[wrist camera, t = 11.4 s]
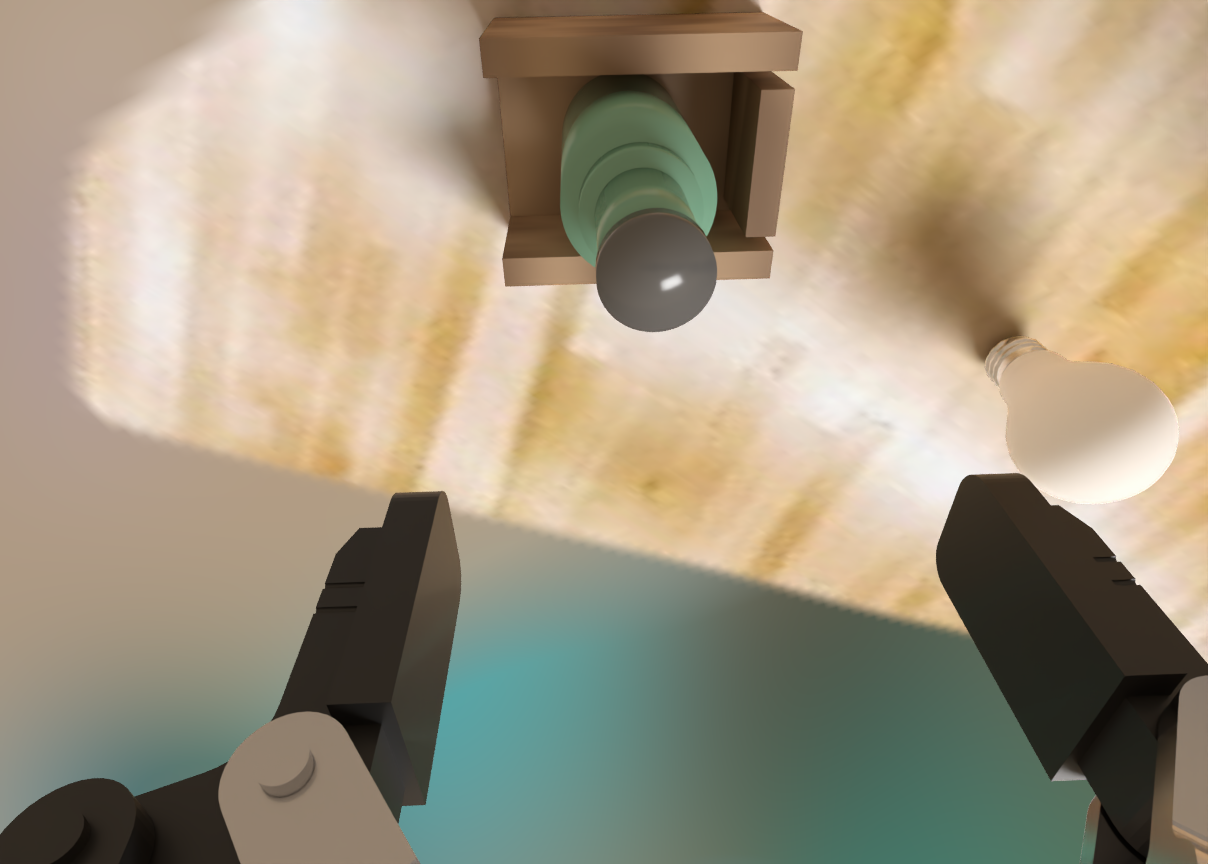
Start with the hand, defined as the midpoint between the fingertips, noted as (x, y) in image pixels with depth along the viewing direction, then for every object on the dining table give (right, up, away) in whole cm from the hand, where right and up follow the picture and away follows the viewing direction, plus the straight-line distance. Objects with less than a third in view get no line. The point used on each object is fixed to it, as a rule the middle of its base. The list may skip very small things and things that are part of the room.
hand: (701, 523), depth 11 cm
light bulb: (+21, +6, +28) cm, 35 cm away
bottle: (-1, +14, +19) cm, 24 cm away
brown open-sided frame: (0, +15, +20) cm, 25 cm away
